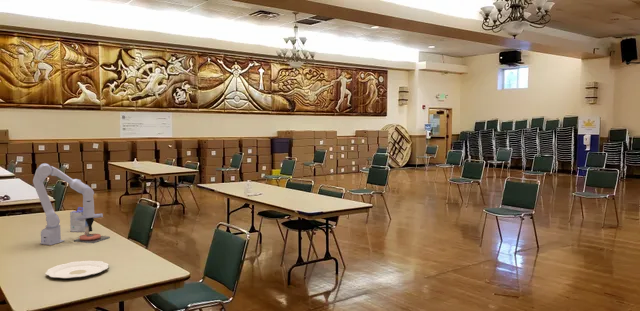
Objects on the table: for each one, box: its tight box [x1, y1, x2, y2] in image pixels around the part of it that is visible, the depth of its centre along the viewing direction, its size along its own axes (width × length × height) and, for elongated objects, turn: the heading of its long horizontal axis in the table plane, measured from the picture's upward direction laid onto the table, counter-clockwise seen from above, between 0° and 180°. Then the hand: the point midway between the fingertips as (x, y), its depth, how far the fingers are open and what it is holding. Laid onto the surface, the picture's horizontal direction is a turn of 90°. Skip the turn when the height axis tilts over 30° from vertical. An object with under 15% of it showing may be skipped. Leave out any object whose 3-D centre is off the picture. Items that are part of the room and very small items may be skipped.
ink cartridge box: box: [69, 206, 88, 233], centre depth 295 cm, size 10×6×14 cm, turn 89°
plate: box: [44, 260, 110, 280], centre depth 214 cm, size 25×25×2 cm
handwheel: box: [78, 226, 102, 240], centre depth 273 cm, size 11×11×6 cm
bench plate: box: [73, 235, 111, 244], centre depth 274 cm, size 13×13×1 cm
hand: (89, 231), depth 276 cm, fingers closed, pressing on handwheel
